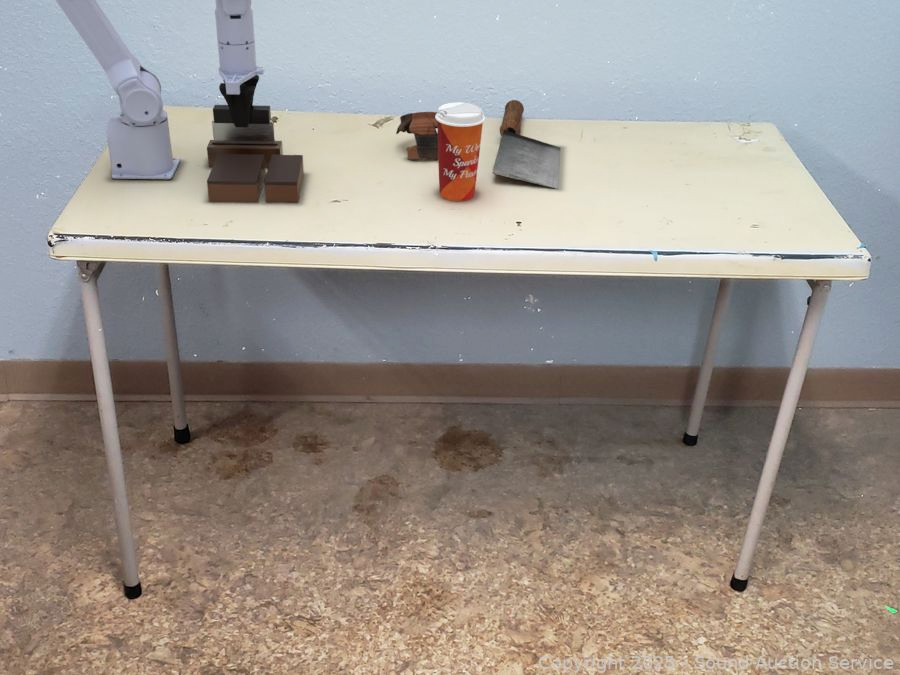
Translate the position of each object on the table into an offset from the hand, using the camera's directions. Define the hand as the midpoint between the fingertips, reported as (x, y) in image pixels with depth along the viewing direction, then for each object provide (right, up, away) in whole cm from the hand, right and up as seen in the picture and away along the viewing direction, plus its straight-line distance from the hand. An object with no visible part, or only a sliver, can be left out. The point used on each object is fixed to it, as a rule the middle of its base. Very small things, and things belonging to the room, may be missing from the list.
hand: (242, 123), depth 157 cm
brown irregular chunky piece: (+30, -3, +11) cm, 32 cm away
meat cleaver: (+48, -2, +14) cm, 50 cm away
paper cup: (+35, -12, -4) cm, 38 cm away
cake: (0, -11, -5) cm, 12 cm away
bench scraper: (0, -4, +3) cm, 5 cm away
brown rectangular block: (+8, -11, -4) cm, 14 cm away
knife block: (0, -6, +4) cm, 7 cm away
